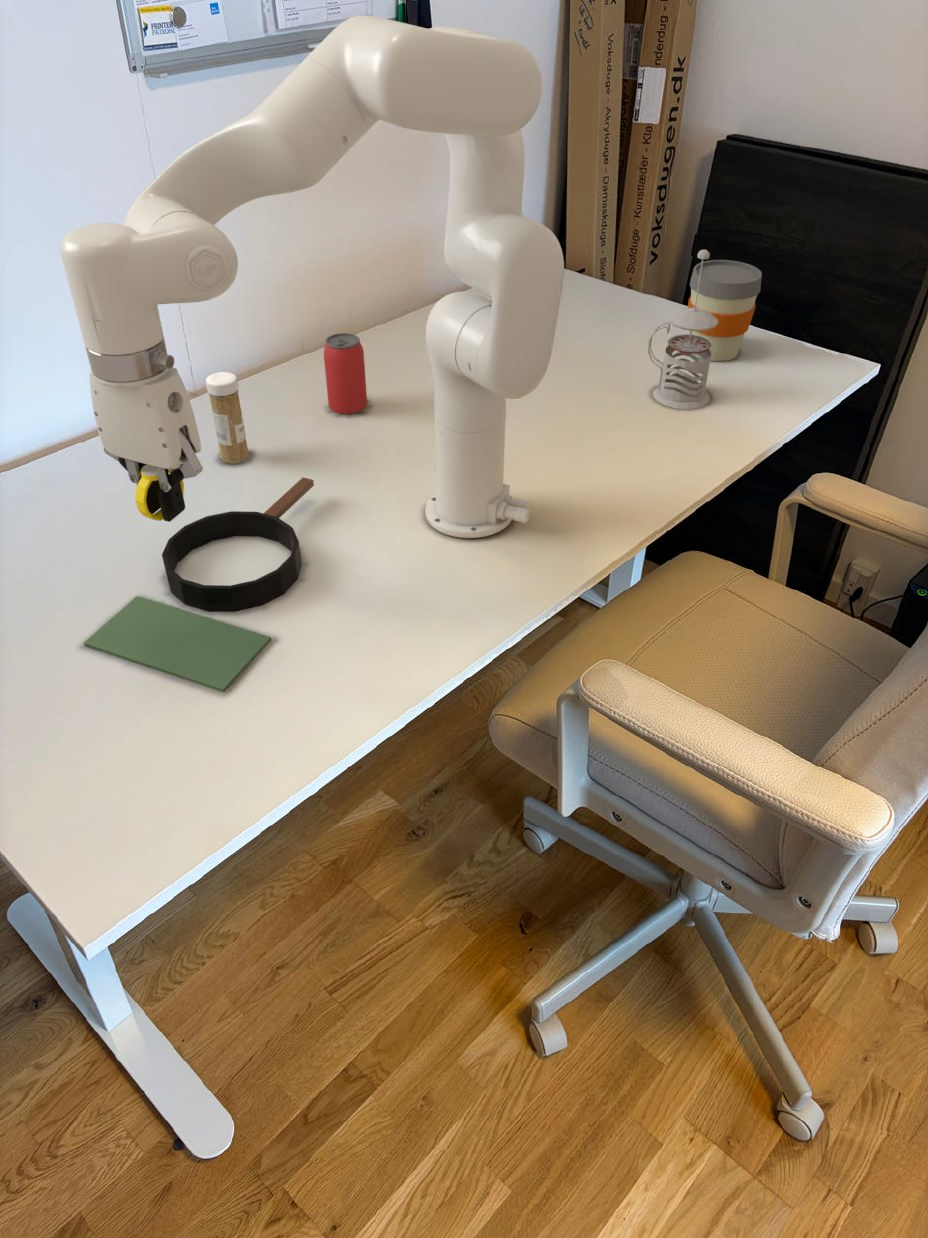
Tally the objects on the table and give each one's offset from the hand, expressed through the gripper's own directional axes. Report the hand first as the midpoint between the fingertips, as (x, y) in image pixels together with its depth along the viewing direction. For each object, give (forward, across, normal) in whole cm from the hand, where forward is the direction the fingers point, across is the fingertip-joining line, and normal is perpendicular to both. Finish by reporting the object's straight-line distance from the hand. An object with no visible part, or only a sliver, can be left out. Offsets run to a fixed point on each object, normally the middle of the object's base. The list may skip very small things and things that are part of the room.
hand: (164, 511), depth 107 cm
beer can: (+17, +11, -59) cm, 62 cm away
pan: (+17, +2, -17) cm, 24 cm away
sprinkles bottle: (+17, +19, -37) cm, 45 cm away
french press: (+17, -39, -86) cm, 96 cm away
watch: (+1, 0, 0) cm, 1 cm away
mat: (+17, 0, +3) cm, 17 cm away
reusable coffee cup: (+17, -41, -107) cm, 116 cm away
